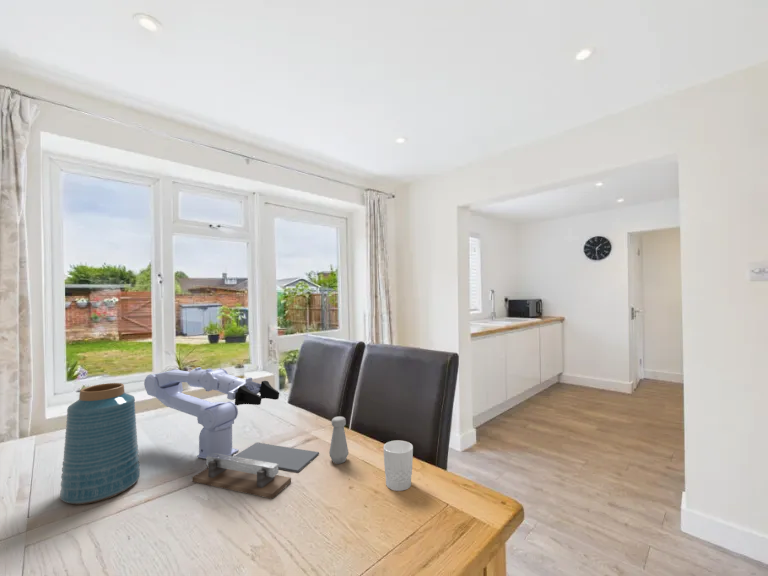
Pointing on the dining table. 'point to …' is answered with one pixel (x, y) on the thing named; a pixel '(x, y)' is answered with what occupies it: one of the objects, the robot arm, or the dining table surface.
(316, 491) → the dining table surface
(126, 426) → the vase
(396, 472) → the white cup
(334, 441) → the salt shaker
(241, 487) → the rack
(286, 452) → the mat
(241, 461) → the rail
